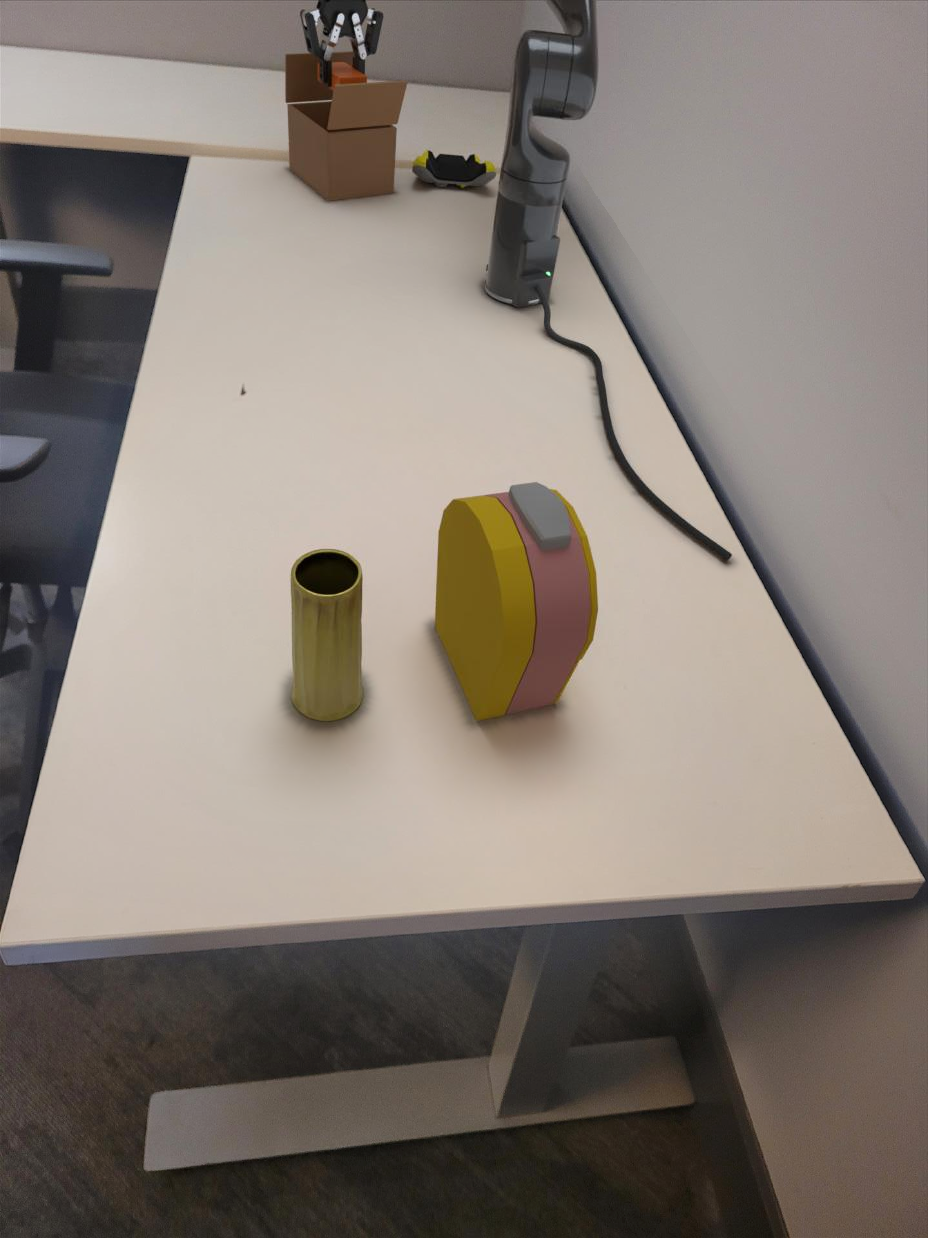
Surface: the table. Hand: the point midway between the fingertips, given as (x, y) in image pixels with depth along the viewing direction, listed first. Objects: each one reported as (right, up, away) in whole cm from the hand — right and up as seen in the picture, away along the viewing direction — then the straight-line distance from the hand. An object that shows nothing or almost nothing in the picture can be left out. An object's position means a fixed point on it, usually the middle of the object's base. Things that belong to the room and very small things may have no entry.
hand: (342, 83), depth 141 cm
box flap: (+5, -6, -4) cm, 9 cm away
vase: (+9, -95, -69) cm, 118 cm away
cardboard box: (-2, -11, +11) cm, 15 cm away
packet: (0, 0, 0) cm, 0 cm away
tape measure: (+23, -93, -64) cm, 115 cm away
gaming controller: (+18, -9, +16) cm, 25 cm away
